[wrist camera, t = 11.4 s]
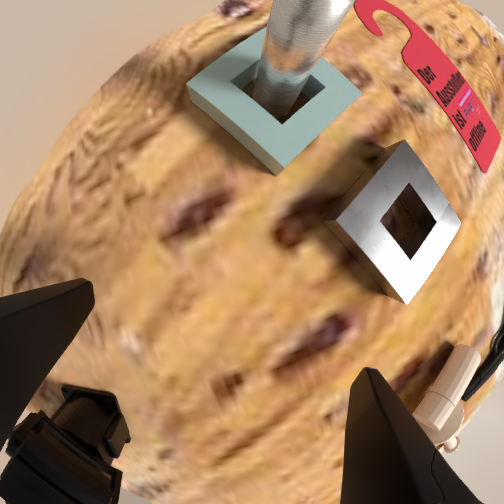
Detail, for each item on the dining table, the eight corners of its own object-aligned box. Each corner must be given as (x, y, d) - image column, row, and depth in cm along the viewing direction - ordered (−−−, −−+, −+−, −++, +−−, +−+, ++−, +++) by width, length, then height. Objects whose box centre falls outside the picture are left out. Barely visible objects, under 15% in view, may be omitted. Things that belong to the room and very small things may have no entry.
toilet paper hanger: (388, 419, 21) (433, 446, 15) (442, 338, 24) (489, 351, 17) (425, 453, 26) (453, 469, 20) (462, 400, 29) (491, 411, 23)
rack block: (276, 176, 19) (284, 167, 16) (191, 101, 18) (185, 83, 15) (347, 107, 19) (362, 93, 16) (268, 42, 18) (273, 22, 15)
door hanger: (484, 176, 21) (338, 5, 18) (481, 177, 21) (337, 7, 18) (501, 137, 21) (378, -9, 18) (499, 138, 21) (376, -7, 18)
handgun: (458, 348, 22) (466, 405, 23) (527, 264, 21) (531, 327, 22) (447, 342, 24) (458, 398, 25) (516, 262, 24) (522, 324, 24)
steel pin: (262, 123, 19) (307, 4, 6) (245, 91, 19) (265, -36, 6) (299, 111, 19) (372, 3, 6) (280, 80, 19) (329, -38, 6)
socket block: (387, 295, 21) (406, 304, 18) (320, 220, 20) (335, 220, 17) (440, 223, 21) (461, 223, 18) (385, 148, 20) (404, 139, 17)
